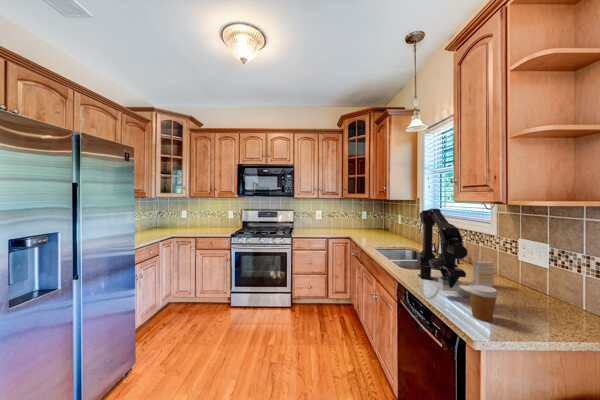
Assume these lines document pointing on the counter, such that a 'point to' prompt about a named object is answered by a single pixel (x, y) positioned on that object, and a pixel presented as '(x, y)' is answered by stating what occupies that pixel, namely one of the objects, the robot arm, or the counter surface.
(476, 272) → the supplement box
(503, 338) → the counter surface
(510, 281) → the counter surface
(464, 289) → the stand
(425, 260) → the robot arm
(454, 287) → the block
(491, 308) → the disposable coffee cup
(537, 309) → the counter surface
